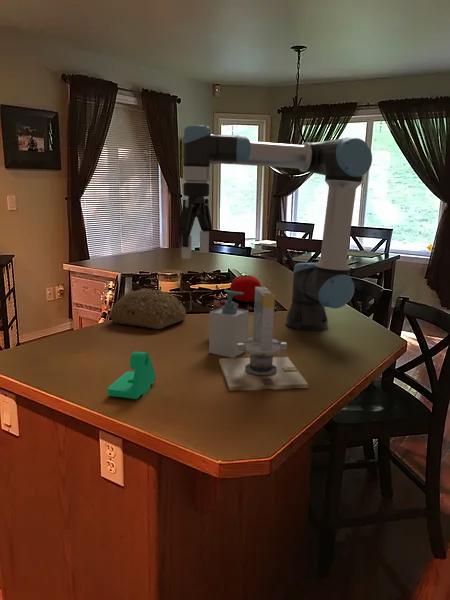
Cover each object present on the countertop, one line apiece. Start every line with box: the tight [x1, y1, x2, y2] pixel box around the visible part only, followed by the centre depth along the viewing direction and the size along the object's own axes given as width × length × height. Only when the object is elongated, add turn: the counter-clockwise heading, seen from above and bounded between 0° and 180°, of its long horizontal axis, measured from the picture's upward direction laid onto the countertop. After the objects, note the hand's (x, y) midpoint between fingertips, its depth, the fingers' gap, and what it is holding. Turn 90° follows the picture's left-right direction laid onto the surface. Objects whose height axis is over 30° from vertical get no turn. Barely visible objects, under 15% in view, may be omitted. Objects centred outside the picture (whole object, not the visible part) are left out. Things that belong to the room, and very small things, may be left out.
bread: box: [109, 288, 187, 330], centre depth 182 cm, size 24×21×12 cm
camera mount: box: [107, 351, 156, 400], centre depth 122 cm, size 12×8×10 cm, turn 167°
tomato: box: [229, 274, 262, 303], centre depth 218 cm, size 13×14×12 cm
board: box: [218, 356, 309, 392], centre depth 135 cm, size 20×20×2 cm
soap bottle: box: [208, 289, 250, 358], centre depth 151 cm, size 9×9×19 cm
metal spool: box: [245, 354, 277, 376], centre depth 135 cm, size 8×8×6 cm
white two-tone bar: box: [237, 286, 288, 357], centre depth 132 cm, size 13×11×16 cm
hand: (195, 255), depth 150 cm, fingers open, 13 cm apart
